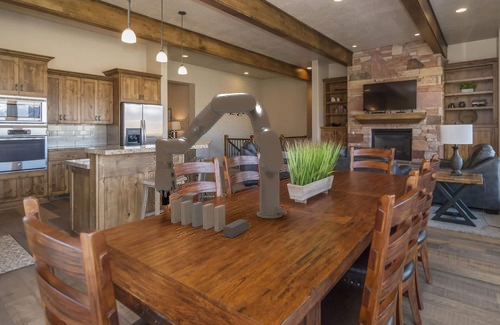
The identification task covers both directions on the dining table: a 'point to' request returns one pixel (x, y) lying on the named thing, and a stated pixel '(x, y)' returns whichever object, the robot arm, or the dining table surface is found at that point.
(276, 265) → the dining table surface
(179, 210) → the end tile
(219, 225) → the tile
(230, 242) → the dining table surface
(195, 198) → the small box
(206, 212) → the tile
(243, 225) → the end block
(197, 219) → the tile
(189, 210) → the tile
